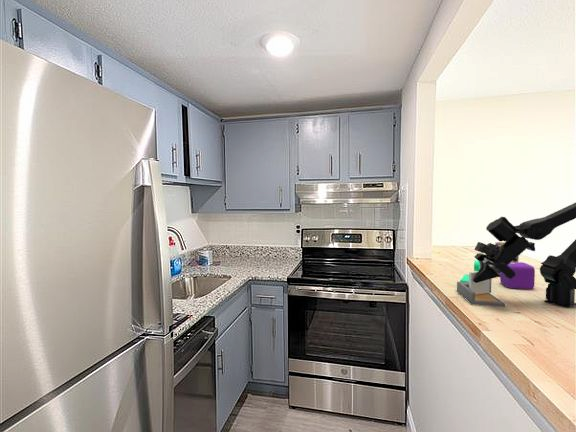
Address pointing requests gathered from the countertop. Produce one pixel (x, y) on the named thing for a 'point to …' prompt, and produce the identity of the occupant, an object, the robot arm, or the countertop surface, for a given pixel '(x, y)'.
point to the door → (479, 284)
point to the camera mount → (476, 268)
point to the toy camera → (520, 276)
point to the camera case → (477, 296)
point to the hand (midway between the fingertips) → (474, 281)
